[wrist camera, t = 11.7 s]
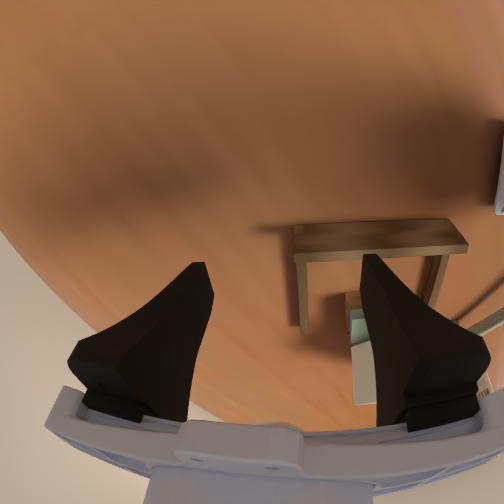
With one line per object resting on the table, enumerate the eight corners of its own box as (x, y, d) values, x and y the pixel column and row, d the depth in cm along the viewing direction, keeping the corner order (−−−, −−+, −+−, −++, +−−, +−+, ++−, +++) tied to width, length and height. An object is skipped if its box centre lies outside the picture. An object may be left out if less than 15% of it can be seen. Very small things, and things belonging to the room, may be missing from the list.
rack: (448, 218, 21) (468, 244, 17) (423, 316, 27) (432, 344, 24) (293, 225, 23) (293, 253, 20) (300, 325, 30) (300, 356, 27)
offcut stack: (390, 286, 26) (399, 313, 23) (387, 312, 28) (394, 338, 25) (345, 291, 27) (349, 319, 24) (345, 316, 29) (348, 344, 26)
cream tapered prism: (427, 340, 26) (385, 334, 23) (433, 393, 23) (390, 400, 20) (396, 351, 30) (350, 347, 27) (400, 400, 26) (353, 405, 23)
